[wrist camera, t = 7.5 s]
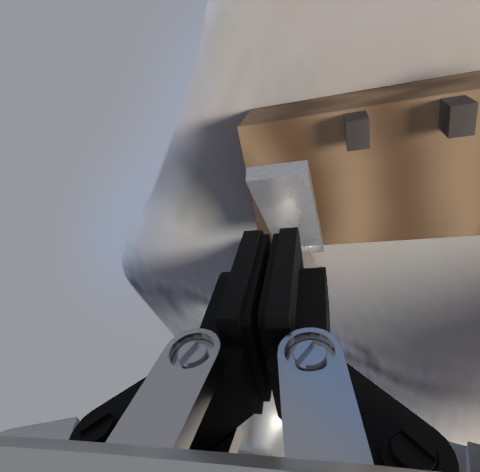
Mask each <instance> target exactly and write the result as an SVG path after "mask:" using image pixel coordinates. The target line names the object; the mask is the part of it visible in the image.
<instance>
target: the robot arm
mask: <svg viewBox="0 0 480 472" xmlns="http://www.w3.org/2000/svg"><path fill="white" fill-rule="evenodd" d="M271 393H273V397H274V401H275V406H276V410H277V415H278V417H279V418H280V419H281V420H282V428H283V443H284V457H276V456H264V455H252V454H240V453H238V450H239V447H240V444H241V441H242V438H243V435H244V429H245V424H244V422H245V421H246V420H247V419H249V418H250V417H251V416H253V414H262V411H263V404H264V402H270V399H271ZM0 472H480V444H476V443H472V442H468V443H467V446H463V445H459V444H456V443H452V442H448V441H447V439H446V438H444V437H443V436H442V435H441V434H440V433H439V432H438V431H437V430H436V429H434V428H433V427H432V426H430V425H429V424H428V423H426V422H425V421H424V420H422V419H421V418H420V417H418V416H417V415H416V414H414V413H413V412H412V411H410V410H409V409H408V408H406V407H405V406H404V405H402V404H401V403H400V402H398V401H397V400H396V399H394V398H393V397H391V396H390V395H389V394H387V393H386V392H385V391H383V390H382V389H381V388H379V387H378V386H377V385H375V384H374V383H373V382H371V381H370V380H369V379H367V378H366V377H365V376H363V375H362V374H361V373H359V372H358V371H357V370H355V369H354V368H353V367H351V366H350V365H349V364H347V363H346V360H345V356H344V353H343V349H342V346H341V344H340V342H339V340H338V339H337V338H336V337H335V336H334V335H333V334H332V333H330V316H329V299H328V286H327V276H326V268H325V267H319V268H304V266H303V258H302V250H301V243H300V235H299V229H298V227H292V228H280V231H279V233H274V234H273V239H272V244H271V239H270V235H269V234H264V233H263V231H262V230H253V231H244V234H243V236H242V239H241V242H240V245H239V248H238V251H237V254H236V257H235V260H234V263H233V266H232V269H231V272H222V273H221V274H220V276H219V278H218V281H217V284H216V286H215V289H214V292H213V294H212V297H211V300H210V302H209V305H208V308H207V310H206V313H205V316H204V318H203V321H202V324H201V326H200V329H191V330H187V331H185V332H183V333H181V334H179V335H177V336H176V337H175V338H173V339H172V340H171V341H170V342H169V344H168V345H167V346H166V347H165V349H164V351H163V352H162V354H161V355H160V357H159V358H158V360H157V362H156V363H155V365H154V366H153V368H152V370H151V371H150V373H149V374H148V376H147V377H145V378H144V379H142V380H141V381H139V382H137V383H136V384H134V385H133V386H131V387H129V388H128V389H126V390H125V391H123V392H121V393H120V394H118V395H117V396H115V397H113V398H112V399H110V400H109V401H107V402H105V403H104V404H102V405H101V406H99V407H98V408H96V409H94V410H93V411H91V412H90V413H89V414H87V415H86V416H85V417H84V418H83V419H82V420H81V421H79V419H78V418H77V417H74V418H68V419H63V420H57V421H52V422H46V423H40V424H35V425H29V426H24V427H18V428H13V429H8V430H5V431H3V432H0Z"/></svg>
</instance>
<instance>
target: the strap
mask: <svg viewBox="0 0 480 472" xmlns="http://www.w3.org/2000/svg"><path fill="white" fill-rule="evenodd" d="M246 183H247V186H248V188H249V190H250V192H251V194H252V196H253V198H254V200H255V202H256V204H257V206H258V208H259V210H260V212H261V214H262V216H263V218H264V220H265V223H266V225H267V227H268V229H269V231H270V233H271V235H272V237H273V234H274V233H279V231H280V228H292V227H298V229H299V235H300V243H301V250H302V253H308V252H323V251H324V247H323V235H322V232H321V227H320V222H319V216H318V211H317V206H316V201H315V196H314V191H313V185H312V180H311V175H310V170H309V165H308V160H303V161H295V162H287V163H279V164H271V165H263V166H255V167H247V168H246Z"/></svg>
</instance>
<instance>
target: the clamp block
mask: <svg viewBox="0 0 480 472" xmlns="http://www.w3.org/2000/svg"><path fill="white" fill-rule="evenodd" d="M237 129H238V134H239V139H240V144H241V149H242V154H243V159H244V164H245V169H246V168H247V167H255V166H263V165H271V164H279V163H287V162H295V161H303V160H308V165H309V170H310V175H311V180H312V185H313V191H314V196H315V201H316V206H317V211H318V216H319V222H320V227H321V232H322V235H323V245H329V244H345V243H361V242H377V241H393V240H410V239H426V238H442V237H458V236H474V235H480V71H474V72H468V73H463V74H457V75H451V76H445V77H439V78H433V79H427V80H421V81H415V82H410V83H404V84H398V85H392V86H386V87H380V88H374V89H368V90H363V91H357V92H351V93H345V94H339V95H333V96H327V97H321V98H315V99H310V100H304V101H298V102H292V103H286V104H280V105H274V106H268V107H262V108H257V109H251V110H250V111H249V113H248V114H247V115H246V116H245V118H244V119H243V120H242V121H241V123H240V124H239V125H238V126H237ZM250 194H251V192H250ZM251 199H252V204H253V209H254V214H255V219H256V224H257V229H258V230H262V231H263V233H264V234H269V235H270V239H271V244H272V239H273V237H272V235H271V233H270V231H269V229H268V227H267V225H266V223H265V220H264V218H263V216H262V214H261V212H260V210H259V208H258V206H257V204H256V202H255V200H254V198H253V196H252V194H251Z"/></svg>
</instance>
